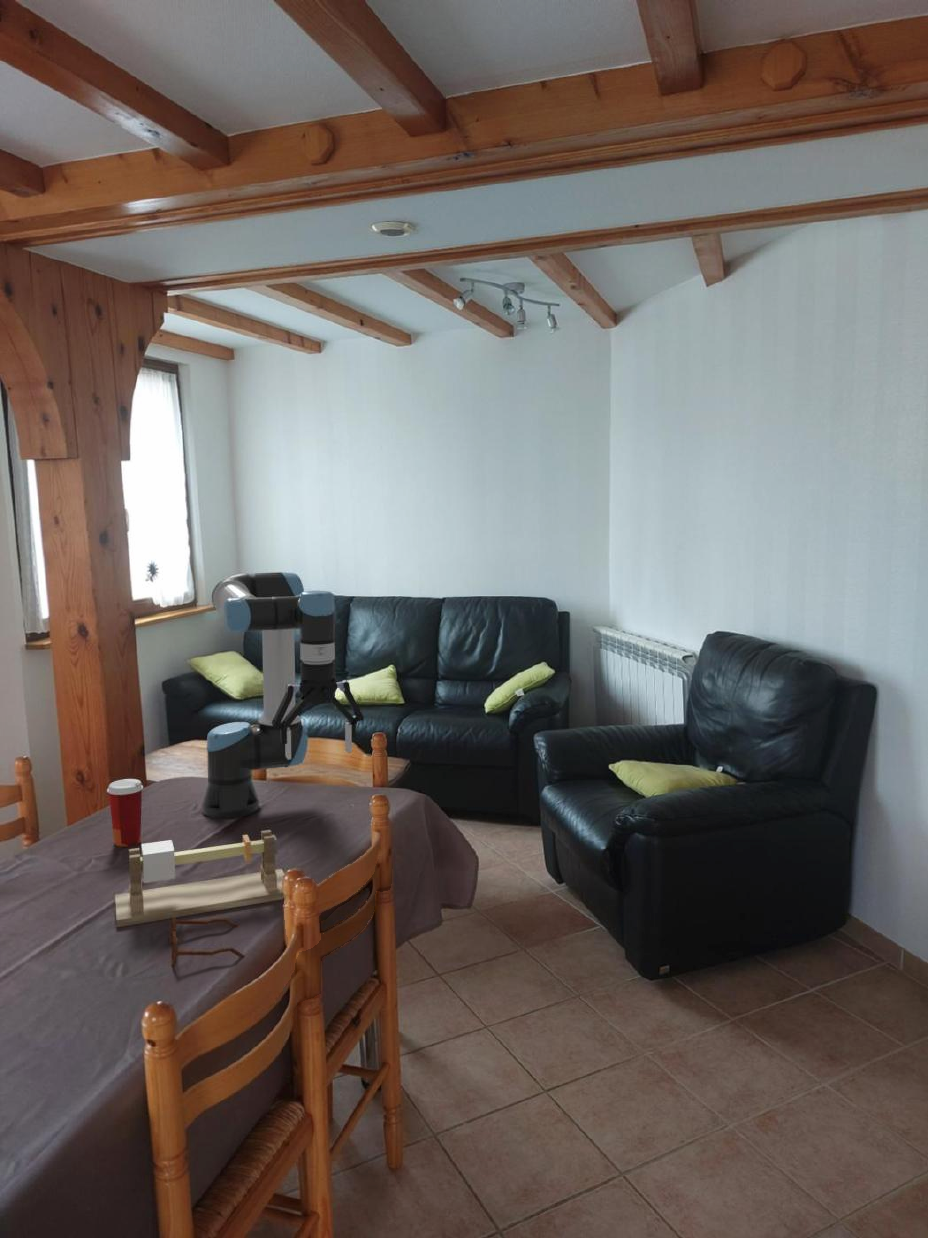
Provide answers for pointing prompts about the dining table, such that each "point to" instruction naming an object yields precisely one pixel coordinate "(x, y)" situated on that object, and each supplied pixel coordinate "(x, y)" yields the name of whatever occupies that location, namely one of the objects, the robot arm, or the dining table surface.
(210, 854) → the pale yellow long bar
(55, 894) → the dining table surface
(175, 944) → the glasses
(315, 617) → the robot arm
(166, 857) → the sleeve
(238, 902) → the wooden rod stand
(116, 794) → the coffee cup
